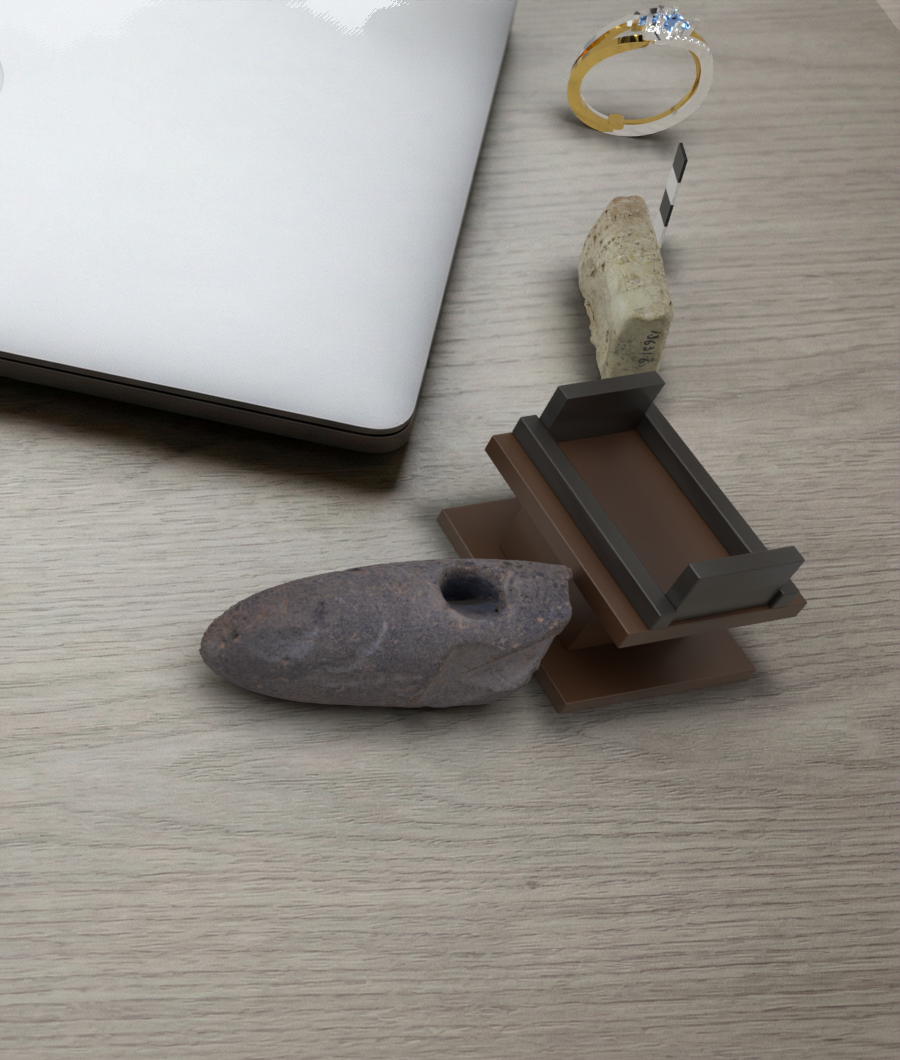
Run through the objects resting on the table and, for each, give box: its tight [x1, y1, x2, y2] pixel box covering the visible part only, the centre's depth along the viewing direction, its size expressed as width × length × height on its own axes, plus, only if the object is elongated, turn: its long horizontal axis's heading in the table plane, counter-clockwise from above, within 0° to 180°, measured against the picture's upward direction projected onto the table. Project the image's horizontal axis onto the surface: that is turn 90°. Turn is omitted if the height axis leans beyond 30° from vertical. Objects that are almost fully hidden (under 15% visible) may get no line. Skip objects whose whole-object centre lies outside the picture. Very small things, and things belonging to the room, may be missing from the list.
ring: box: [566, 5, 714, 137], centre depth 94 cm, size 7×3×8 cm, turn 67°
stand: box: [435, 371, 808, 715], centre depth 73 cm, size 9×11×9 cm
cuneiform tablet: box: [577, 142, 689, 379], centre depth 85 cm, size 7×4×12 cm
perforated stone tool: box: [198, 558, 573, 709], centre depth 71 cm, size 15×5×7 cm, turn 89°
